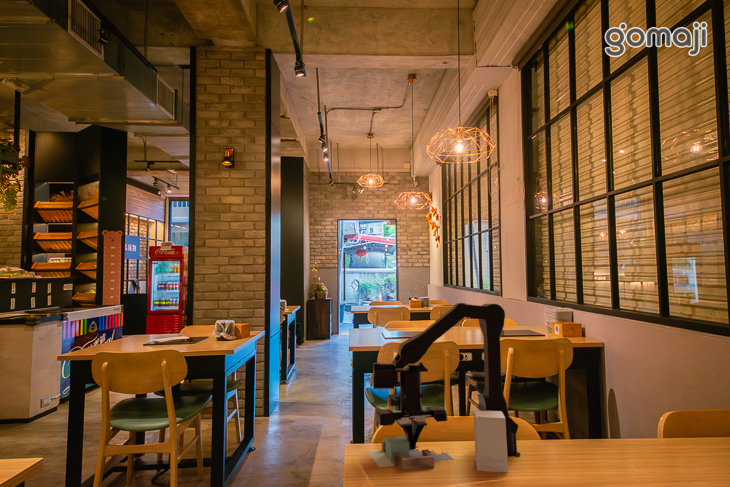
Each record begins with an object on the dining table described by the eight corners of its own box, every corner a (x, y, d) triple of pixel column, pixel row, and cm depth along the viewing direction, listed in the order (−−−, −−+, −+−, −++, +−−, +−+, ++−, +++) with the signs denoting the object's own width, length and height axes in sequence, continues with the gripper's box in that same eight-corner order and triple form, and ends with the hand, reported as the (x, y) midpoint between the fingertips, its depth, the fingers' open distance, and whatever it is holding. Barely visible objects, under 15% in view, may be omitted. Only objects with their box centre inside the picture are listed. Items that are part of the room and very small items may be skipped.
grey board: (436, 445, 122) (436, 444, 122) (454, 460, 110) (453, 459, 110) (367, 452, 117) (367, 450, 117) (378, 468, 106) (378, 466, 106)
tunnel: (414, 447, 120) (414, 437, 121) (436, 468, 105) (435, 456, 105) (381, 450, 118) (381, 440, 119) (399, 472, 103) (398, 460, 103)
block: (403, 452, 116) (403, 436, 116) (409, 458, 111) (409, 442, 112) (385, 453, 115) (385, 438, 115) (391, 460, 110) (390, 444, 110)
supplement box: (509, 474, 101) (506, 418, 103) (476, 472, 103) (474, 416, 104) (505, 462, 108) (502, 410, 110) (475, 461, 110) (472, 409, 111)
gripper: (431, 381, 126) (433, 437, 124) (370, 384, 122) (370, 442, 120) (447, 388, 115) (449, 450, 113) (380, 392, 111) (381, 456, 109)
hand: (411, 449), depth 114 cm, fingers closed
